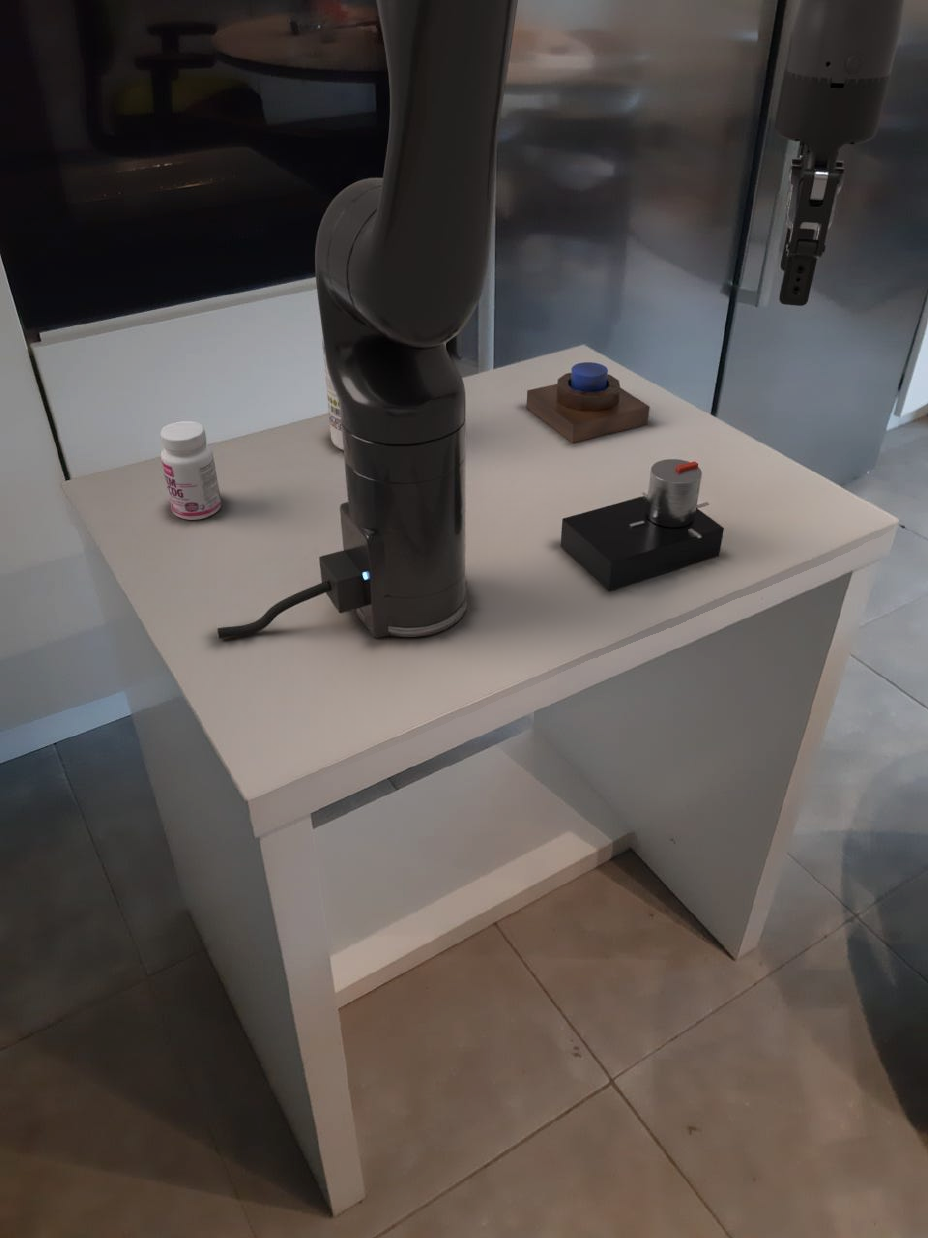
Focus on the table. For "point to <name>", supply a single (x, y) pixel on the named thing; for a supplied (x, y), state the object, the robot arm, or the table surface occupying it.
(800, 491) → the table surface
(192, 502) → the pill bottle
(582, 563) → the panel
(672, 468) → the knob
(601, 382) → the button
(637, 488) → the table surface
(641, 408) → the button block
